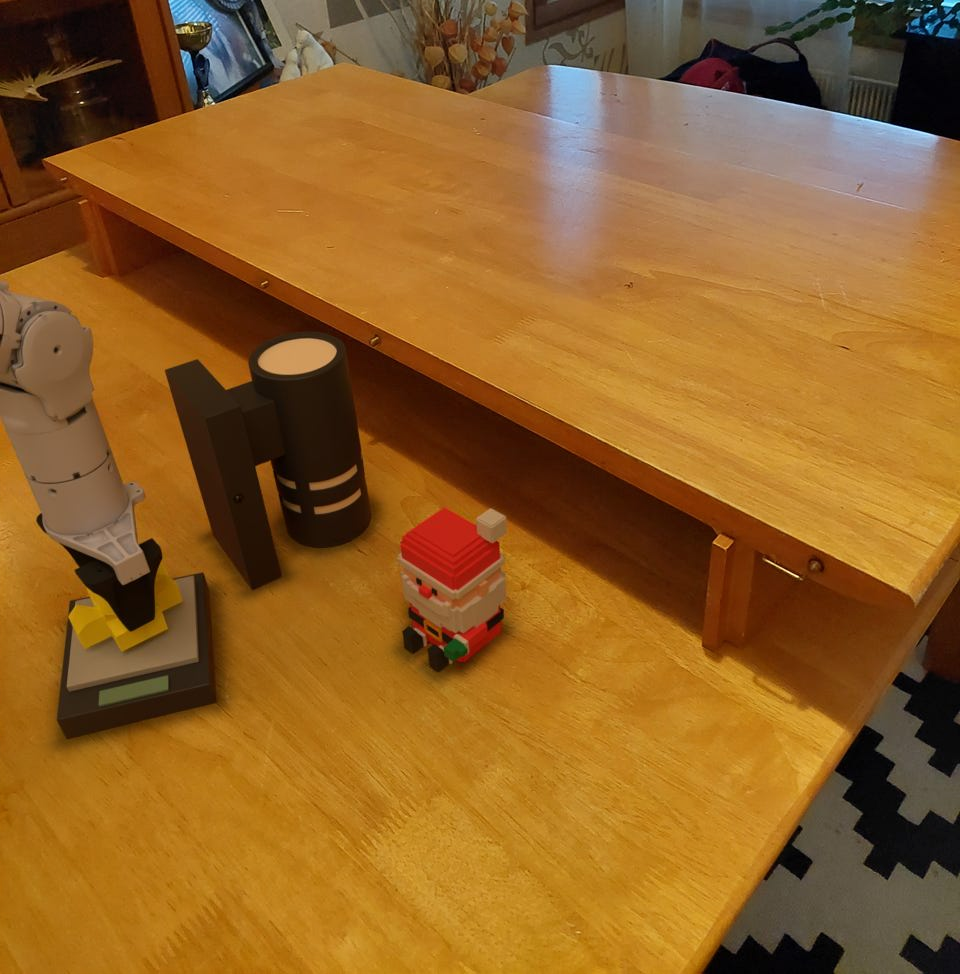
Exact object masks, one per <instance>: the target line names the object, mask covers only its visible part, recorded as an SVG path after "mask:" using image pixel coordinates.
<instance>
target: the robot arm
mask: <svg viewBox="0 0 960 974" xmlns="http://www.w3.org/2000/svg"><path fill="white" fill-rule="evenodd" d="M9 288H10V285H9V283H8V282H7V281H5V280H1V279H0V420H1V424H2V425H3V428H4V429H5V432H6V434H7V437H8V439H9V441H10V444H11V446H12V448H13V451H14V453H15V455H16V457H17V460H18V462H19V464H20V467H21V469H22V471H23V474H24V477H25V479H26V481H27V483H28V486H29V488H30V490H31V493H32V494H33V497H34V500H35V502H36V504H37V506H38V509H39V511H40V513H39V514H38V515H37V517H36V520H35V522H36V524H37V525H38V526H39V528H40V529H41V530H42V532H43V533H44V534H46V535H47V536H48V537H49V538H50V539H51V540H53V541H54V542H56V543H59V545H61V546H62V547H63V549H65V550H66V552H68V554H69V555H70V556H71V558H72V559H73V561H74V562H75V564H76V565H77V567H78V568H75V569H74V572H75V575H76V576H77V577H78V579H79V580H80V581H81V583H82V584H83V586H85V588H86V587H87V588H88V589H89V590H91V591H92V592H93V593H95V594H97V595H99V596H100V597H102V598H103V599H104V600H106V601H107V602H108V604H109V605H110V607H111V608H112V610H113V611H114V613H115V614H116V616H117V617H118V619H119V620H120V621H121V623H122V624H123V625H124V626H125V627H126V628H127V629H128V630H129V631H130V632H132V631H134V630H136V629H138V628H139V627H141V626H143V625H145V624H147V623H149V622H151V621H153V620H154V619H155V593H154V588H155V578H156V574H157V570H158V568H159V565H160V563H161V561H162V562H163V551H162V548H161V546H160V544H158V543H157V542H156V540H155V539H154V538H153V537H151V538H149V539H147V540H145V541H142V542H140V543H139V539H138V531H137V522H136V513H135V507H136V504H139V503H140V502H143V501H144V500H145V499H146V498H147V497H146V493H145V490H144V488H143V487H142V486H141V485H140V484H139V483H138V482H137V481H134V480H130V481H127V482H125V483H124V481H123V479H122V477H121V473H120V470H119V468H118V465H117V462H116V459H115V457H114V454H113V451H112V448H111V446H110V443H109V440H108V436H107V434H106V431H105V429H104V426H103V422H102V420H101V417H100V414H99V412H98V409H97V406H96V404H95V400H94V396H93V392H94V391H95V387H94V384H93V382H92V379H91V373H90V368H91V364H92V360H93V355H94V336H93V332H92V329H91V327H90V326H89V327H88V326H87V327H86V326H84V325H82V324H81V322H80V321H79V319H78V316H77V315H76V314H75V315H74V314H71V313H72V312H73V311H72V310H71V309H70V308H69V307H67V306H66V305H64V304H63V303H59V302H57V301H53V300H49V299H44V298H40V297H35V296H31V295H26V294H22V293H18V292H13V291H9Z"/></svg>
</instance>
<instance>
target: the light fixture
mask: <svg viewBox="0 0 960 974" xmlns="http://www.w3.org/2000/svg"><path fill="white" fill-rule="evenodd" d="M347 354H348V353H347V348H346V346H345V344H344V343H343V341H342V340H341V339H339V338H338V337H336V336H335V335H331V334H328V333H325V332H320V331H297V332H290V333H285V334H281V335H278V336H275V337H273V338H270V339H268V340H266V341H264V342H262V343H261V344H259V345H258V346H256V348H254V349H253V350H252V352H251V353H250V355H249V357H248V361H247V363H248V364H247V365H248V369H249V373H250V379H251V380H250V381H248V382H245V383H241V384H239V385H236V386H233V387H230V388H227V389H226V388H225V387H224V386H223V385H222V383H221V382H220V381H219V380H218V379H216V377H215V376H214V375H213V374H212V373H211V372H210V371H209V369H207V368H206V366H205V365H204V364H203V363H202V362H201V361H200V359H198V358H197V359H193V360H190V361H186V362H184V363H181V364H178V365H175V366H172V367H168V368H166V369H164V373H165V376H166V380H167V383H168V387H169V390H170V394H171V397H172V401H173V403H174V408H175V411H176V414H177V418H178V421H179V425H180V428H181V431H182V434H183V438H184V442H185V445H186V448H187V452H188V455H189V459H190V462H191V465H192V468H193V471H194V475H195V478H196V482H197V485H198V489H199V491H200V497H201V500H202V502H203V506H204V509H205V512H206V513H205V514H206V517H207V519H208V523H209V526H210V530H211V534H212V536H213V538H215V540H216V542H217V543H218V544H219V546H220V547H221V549H222V550H223V552H224V553H225V554H226V556H227V557H228V558H229V560H230V561H231V563H232V564H233V566H234V567H235V569H236V570H237V571H238V573H239V574H240V576H241V577H242V578H243V580H244V581H245V583H246V584H247V585H248V587H249V588H250V590H251V591H253V590H256V589H258V588H260V587H262V586H264V585H267V584H269V583H272V582H273V581H276V580H278V579H280V578H282V576H283V575H282V569H281V567H280V562H279V558H278V554H277V550H276V546H275V542H274V537H273V534H272V529H271V525H270V522H269V517H268V513H267V508H266V505H265V501H264V496H263V493H262V488H261V483H260V480H259V476H258V472H257V467H258V466H260V465H263V464H265V463H268V462H270V466H271V468H272V474H273V478H274V483H275V486H276V491H277V494H278V500H279V504H280V505H279V506H280V510H281V513H282V518H283V522H284V526H285V530H286V532H287V534H288V536H289V537H290V538H291V539H292V540H293V541H294V542H295V543H298V544H300V545H302V546H306V547H310V548H332V547H337V546H340V545H341V546H342V545H343V544H346V543H349V542H351V541H353V540H354V539H356V538H357V537H359V536H360V535H362V534H363V532H365V530H366V529H367V528H368V527H369V525H370V523H371V519H372V510H371V503H370V498H369V497H370V496H369V490H368V484H367V478H366V471H365V464H364V458H363V454H362V445H361V438H360V433H359V427H358V426H359V425H358V419H357V412H356V405H355V400H354V394H353V393H354V392H353V388H352V380H351V374H350V367H349V360H348V355H347Z"/></svg>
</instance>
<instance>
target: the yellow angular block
mask: <svg viewBox="0 0 960 974" xmlns="http://www.w3.org/2000/svg"><path fill="white" fill-rule="evenodd" d="M167 570H168V569H167V568H166V566H165V565H164V563H163V560H162V561H161V563H160V565H159V568H158V570H157V574H156V578H155V588H154V593H155V619H154V620H153V621H151V622H149V623H147V624H145V625H143V626H141V627H139V628H138V629H136V630H134V631H132V632H130V631H129V630H128V629H127V628H126V627H125V626H124V625H123V624H122V623H121V621H120V620H119V619H118V617H117V616H116V614H115V613H114V611H113V610H112V608H111V607H110V605H109V604H108V602H107V601H106V600H104V599H103V598H102V597H100V596H99V595H97V594H95V593H93V592H92V591H91V590H89V589H88V588H87V587H86V586H85V589H86V592H87V593H88V594H87V595H88V597H90V599H91V601H92V603H93V606H94V607H90V606H83V605H77V604H76V606H75V607H74V609H73V610H72V611H71V613H70V614H69V616H68V615H67V618H68V617H69V620H70V622H71V624H72V626H73V628H74V631H75V633H76V635H77V637H78V639H79V641H80V643H81V644H82V646H83V648H84V649H86V648H88V647H90V646H92V645H95V644H97V643H99V642H101V641H103V640H105V639H107V638H109V637H111V636H112V637H113V639H114V640H115V642H116V644H117V645H118V647H119V648H120V650H121V652H122V651H124V650H126V649H128V648H130V647H132V646H134V645H136V644H138V643H140V642H142V641H144V640H146V639H148V638H150V637H152V636H154V635H156V634H158V633H160V632H162V631H164V630H166V629H168V627H167V624H166V621H165V618H164V615H163V613H162V611H164V610H166V609H168V608H170V607H172V606H174V605H176V604H178V603H181V602H183V600H182V597H181V594H180V591H179V588H178V585H177V582H175V581H173V579H174V578H173V577H171V575H170V574H169V572H168V571H167Z"/></svg>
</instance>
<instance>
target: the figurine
mask: <svg viewBox="0 0 960 974" xmlns="http://www.w3.org/2000/svg"><path fill="white" fill-rule="evenodd" d="M475 522H476V524H475V523H473V522H471V521H469V520H468V519H466V518H465V517H463V516H461V515H459V514H457V513H455V512H454V511H452V510H451V509H448V508H447V507H445V506H444V507H443V508H441V509H440V510H438V511H436V512H435V513H434V514H431V516H429V517H427V518H426V519H424V520H423V521H422V522H420V523H418V524H417V525H416V526H414V527H413V528H411V529H410V530H408V531H407V532H405V534H404V535H402V536H401V541H400V544H399V545H400V546H399V547H400V553H398V554H397V563H398V565H399V566H400V567H402V570H401V571H400V572H399V573H400V578H401V580H400V581H401V586H402V594H403V599H404V600H405V601H407V602H408V603H409V604H410V606H409V607H408V608H407V613H408V618H409V619H411V620H412V626H413V628H412V626H410V625H408V626H407V627H406V628H404V629H403V630H402V631H401V632H402V640H403V646H404V649H406V650H407V651H408V652H410V653H411V654H414V653H416V652H417V651H418V650H420V649H421V648H422V647H424V648H426V647H427V646H428V643H431V644H432V645H431V646H429V647H428V648H427V654H428V663H429V667H431V668H432V669H433V670H434V671H436V672H437V673H438V672H440V671H442V669H444V668H445V667H446V666H448V665H449V666H451V665H453V663H455V662H458V663H461V662H462V663H466V662H467V661H468V660H470V659H471V658H472V657H473V656H474V655H475V654H477V653H478V652H479V651H480V650H481V649H482V648H484V647H485V646H486V645H487V644H488V643H490V642H491V641H492V640H493V639H495V638H496V637H497V636H499V635H500V634H501V633H502V621H503V620H504V619H505V610H504V608H502V607H501V605H502V604H503V603H504V602H506V601H507V581H506V572H505V571H504V570H502V569H501V568H502V567H503V566H505V565H506V560H505V559H506V558H505V554H503V553H501V549H500V548H501V547H500V541H498V540H499V539H501V538H502V537H504V536H505V535H507V534H508V529H507V528H508V526H507V516H506V515H505V514H502V513H501V512H499V511H497V510H495V509H493V508H491V507H490V508H488V509H487V510H486V511H484V512H482V514H481V513H480V515H479V516H476V517H475Z"/></svg>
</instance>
